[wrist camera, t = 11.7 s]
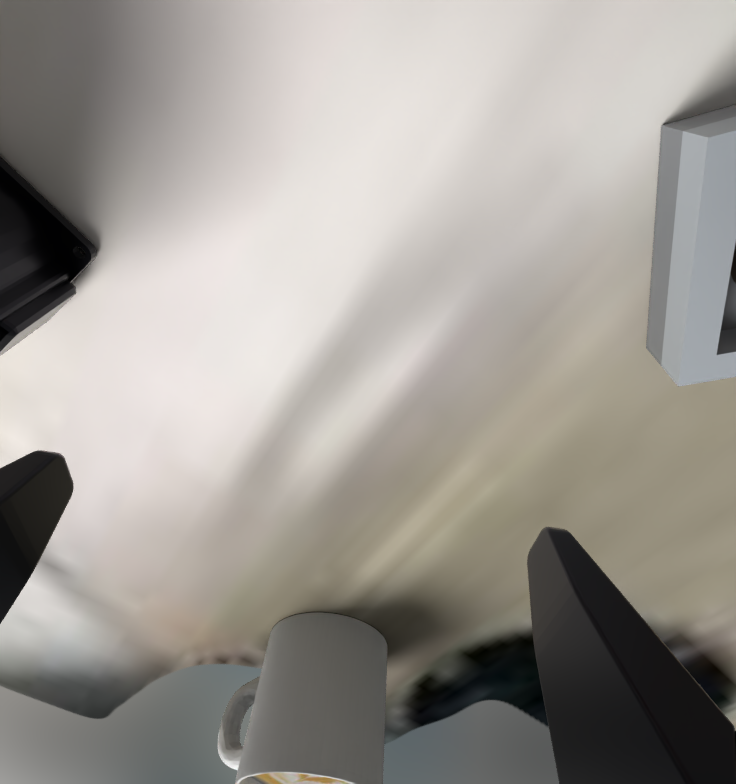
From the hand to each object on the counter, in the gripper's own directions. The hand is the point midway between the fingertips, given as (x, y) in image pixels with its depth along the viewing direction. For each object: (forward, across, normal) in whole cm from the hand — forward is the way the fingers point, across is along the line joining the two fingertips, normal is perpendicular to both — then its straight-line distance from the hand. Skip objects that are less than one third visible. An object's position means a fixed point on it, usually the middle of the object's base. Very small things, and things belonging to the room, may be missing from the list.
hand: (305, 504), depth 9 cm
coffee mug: (+13, 0, +34) cm, 36 cm away
